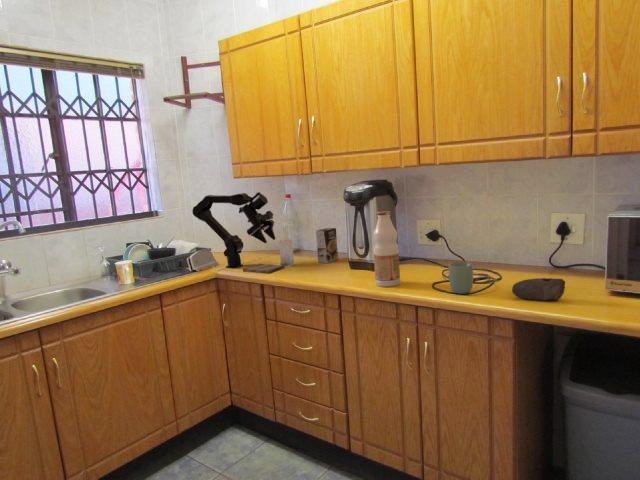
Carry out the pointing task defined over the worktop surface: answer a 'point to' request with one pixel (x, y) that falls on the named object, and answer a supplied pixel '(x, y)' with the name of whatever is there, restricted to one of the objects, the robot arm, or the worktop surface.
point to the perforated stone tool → (539, 289)
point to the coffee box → (327, 245)
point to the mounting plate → (263, 268)
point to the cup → (461, 277)
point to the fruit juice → (386, 252)
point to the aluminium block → (286, 252)
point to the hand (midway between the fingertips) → (270, 241)
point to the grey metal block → (201, 261)
